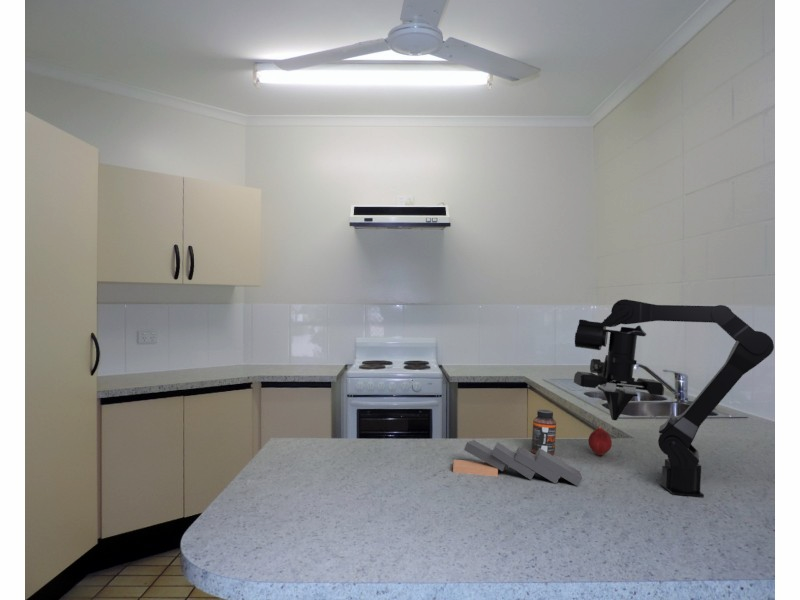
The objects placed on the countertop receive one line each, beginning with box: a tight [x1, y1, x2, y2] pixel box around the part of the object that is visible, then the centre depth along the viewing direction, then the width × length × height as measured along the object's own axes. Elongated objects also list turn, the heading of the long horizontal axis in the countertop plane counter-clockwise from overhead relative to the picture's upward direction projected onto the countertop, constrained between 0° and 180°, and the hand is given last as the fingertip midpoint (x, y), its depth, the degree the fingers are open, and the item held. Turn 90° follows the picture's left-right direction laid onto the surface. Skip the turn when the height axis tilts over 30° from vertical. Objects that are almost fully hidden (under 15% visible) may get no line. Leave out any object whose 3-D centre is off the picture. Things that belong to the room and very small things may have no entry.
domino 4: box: [514, 445, 561, 485], centre depth 112 cm, size 2×5×10 cm
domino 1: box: [463, 439, 510, 472], centre depth 117 cm, size 2×5×10 cm
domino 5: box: [534, 448, 583, 487], centre depth 111 cm, size 2×5×10 cm
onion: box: [588, 425, 613, 456], centre depth 133 cm, size 6×6×8 cm
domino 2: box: [452, 459, 499, 477], centre depth 115 cm, size 2×5×10 cm
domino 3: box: [491, 441, 536, 481], centre depth 114 cm, size 2×5×10 cm
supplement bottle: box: [531, 409, 557, 456], centre depth 132 cm, size 6×6×11 cm
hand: (613, 419), depth 116 cm, fingers closed
